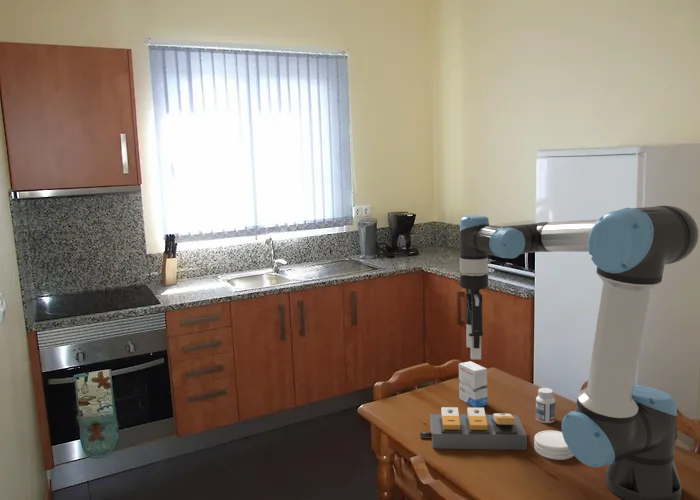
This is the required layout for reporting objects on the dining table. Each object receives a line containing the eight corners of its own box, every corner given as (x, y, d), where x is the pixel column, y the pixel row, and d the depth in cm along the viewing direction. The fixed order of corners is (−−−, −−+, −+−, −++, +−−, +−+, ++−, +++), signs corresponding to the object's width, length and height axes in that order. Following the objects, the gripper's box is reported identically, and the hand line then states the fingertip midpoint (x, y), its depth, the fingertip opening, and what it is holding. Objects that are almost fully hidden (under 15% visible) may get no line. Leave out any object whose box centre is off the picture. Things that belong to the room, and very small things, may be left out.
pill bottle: (552, 415, 169) (553, 386, 168) (556, 423, 164) (557, 393, 163) (533, 415, 170) (534, 386, 168) (537, 423, 164) (538, 393, 163)
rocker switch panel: (526, 449, 150) (526, 430, 149) (421, 448, 152) (420, 429, 151) (517, 428, 162) (517, 410, 161) (419, 427, 164) (419, 409, 163)
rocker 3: (515, 424, 150) (514, 417, 150) (497, 424, 150) (497, 417, 150) (510, 419, 157) (509, 413, 157) (493, 419, 157) (493, 413, 157)
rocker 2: (487, 430, 151) (487, 424, 151) (470, 429, 152) (470, 424, 151) (483, 412, 158) (483, 407, 157) (467, 412, 158) (467, 407, 157)
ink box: (488, 405, 177) (488, 368, 176) (474, 408, 175) (474, 371, 174) (471, 395, 185) (471, 360, 183) (457, 398, 183) (457, 362, 181)
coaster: (562, 440, 155) (563, 427, 154) (583, 458, 145) (583, 445, 145) (527, 444, 153) (527, 431, 153) (545, 463, 144) (545, 449, 143)
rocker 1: (460, 429, 152) (460, 424, 151) (443, 429, 152) (443, 424, 152) (457, 412, 158) (457, 407, 158) (441, 411, 159) (441, 407, 158)
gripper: (494, 281, 146) (493, 366, 149) (482, 265, 168) (481, 340, 171) (464, 281, 147) (464, 366, 150) (456, 265, 168) (456, 340, 172)
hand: (473, 352), depth 160 cm, fingers open, 9 cm apart
